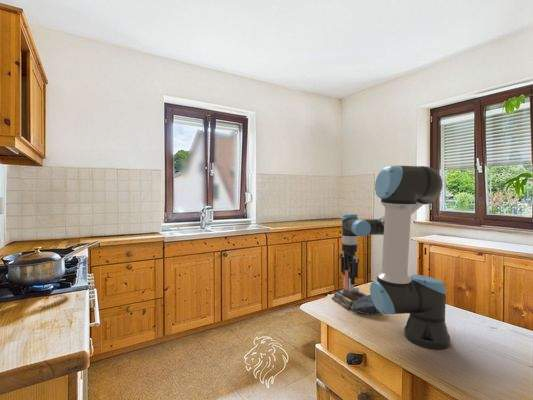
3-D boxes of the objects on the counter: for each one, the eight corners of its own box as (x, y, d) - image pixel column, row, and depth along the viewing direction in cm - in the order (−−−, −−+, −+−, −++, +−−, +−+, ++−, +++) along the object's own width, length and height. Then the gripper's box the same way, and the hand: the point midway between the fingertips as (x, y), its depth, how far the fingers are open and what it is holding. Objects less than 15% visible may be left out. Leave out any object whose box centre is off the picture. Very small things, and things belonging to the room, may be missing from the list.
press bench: (376, 306, 137) (376, 297, 137) (347, 310, 132) (347, 301, 132) (358, 296, 151) (358, 288, 151) (331, 299, 146) (332, 291, 146)
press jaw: (358, 297, 145) (358, 270, 145) (343, 299, 142) (343, 272, 142) (354, 295, 149) (354, 268, 149) (338, 296, 146) (339, 269, 146)
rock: (391, 317, 125) (385, 304, 135) (386, 301, 124) (380, 289, 133) (357, 326, 128) (353, 312, 138) (351, 310, 127) (348, 298, 136)
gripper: (366, 246, 138) (365, 293, 138) (346, 240, 154) (345, 283, 155) (352, 247, 136) (352, 295, 136) (334, 241, 152) (333, 284, 153)
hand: (348, 288), depth 146 cm, fingers open, 4 cm apart
